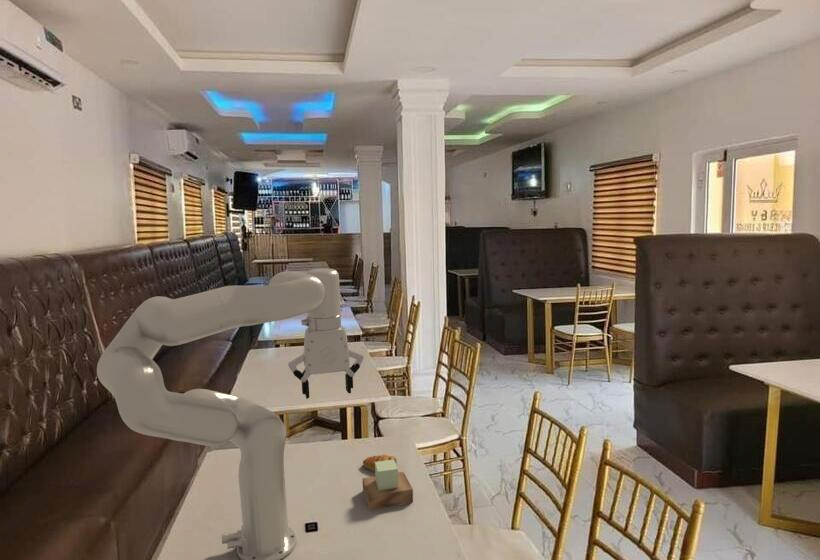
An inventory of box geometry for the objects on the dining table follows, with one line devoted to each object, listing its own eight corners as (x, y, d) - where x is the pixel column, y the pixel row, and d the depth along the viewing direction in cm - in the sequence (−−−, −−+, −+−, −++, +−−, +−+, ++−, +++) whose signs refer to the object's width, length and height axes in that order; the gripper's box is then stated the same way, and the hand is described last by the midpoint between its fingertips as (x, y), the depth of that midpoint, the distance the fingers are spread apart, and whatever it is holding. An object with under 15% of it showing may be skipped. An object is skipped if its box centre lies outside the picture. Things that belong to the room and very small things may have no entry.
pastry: (359, 471, 151) (359, 459, 150) (368, 460, 157) (367, 448, 156) (391, 476, 148) (390, 463, 147) (399, 464, 154) (398, 452, 154)
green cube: (378, 490, 134) (377, 471, 133) (375, 480, 139) (374, 461, 138) (398, 487, 135) (397, 468, 134) (394, 477, 140) (394, 459, 139)
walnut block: (369, 511, 132) (369, 496, 131) (363, 492, 140) (362, 478, 140) (413, 503, 135) (412, 489, 134) (403, 485, 143) (403, 471, 143)
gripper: (287, 330, 118) (291, 404, 120) (364, 323, 122) (367, 395, 125) (284, 322, 125) (289, 393, 127) (358, 316, 130) (361, 384, 132)
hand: (328, 394), depth 126 cm, fingers open, 9 cm apart
